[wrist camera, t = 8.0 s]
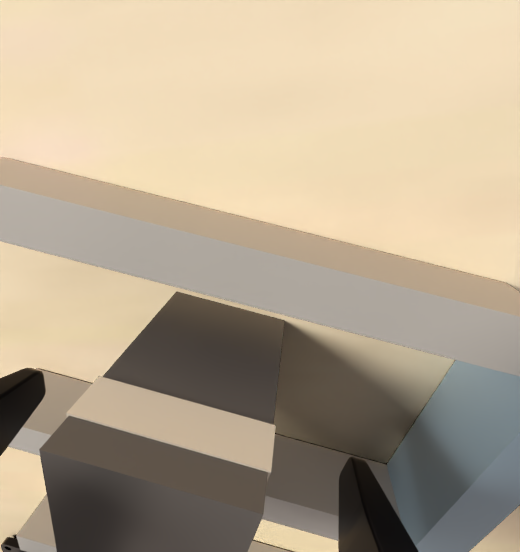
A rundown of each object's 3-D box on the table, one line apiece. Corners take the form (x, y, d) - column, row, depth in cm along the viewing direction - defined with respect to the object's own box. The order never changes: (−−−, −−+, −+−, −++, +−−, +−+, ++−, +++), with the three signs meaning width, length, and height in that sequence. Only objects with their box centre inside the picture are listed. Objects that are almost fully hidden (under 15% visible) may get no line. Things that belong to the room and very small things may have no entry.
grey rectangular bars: (340, 580, 17) (347, 662, 14) (56, 497, 18) (11, 562, 15) (556, 295, 9) (673, 364, 6) (2, 157, 9) (-124, 161, 6)
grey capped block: (260, 400, 12) (225, 608, 7) (166, 373, 12) (55, 557, 7) (286, 319, 10) (266, 513, 5) (175, 289, 10) (36, 447, 5)
